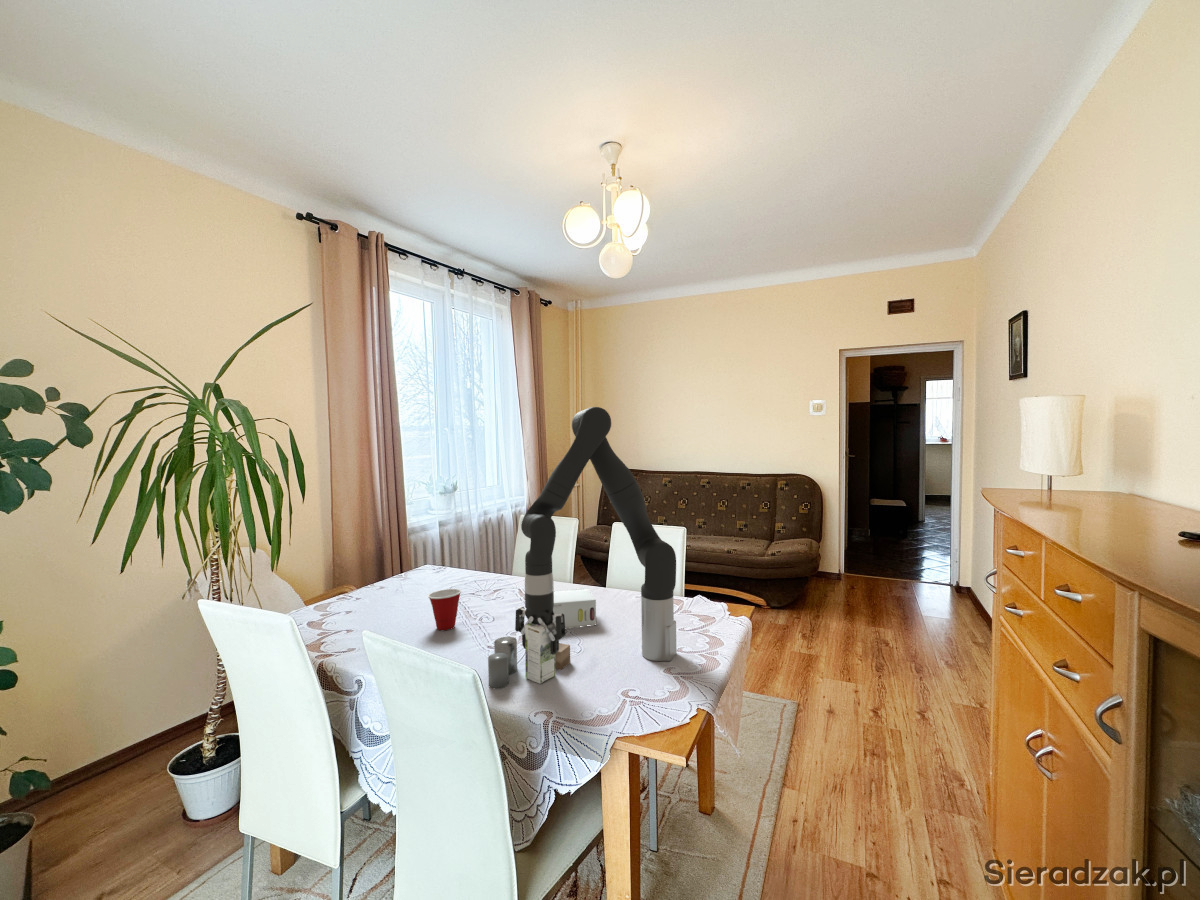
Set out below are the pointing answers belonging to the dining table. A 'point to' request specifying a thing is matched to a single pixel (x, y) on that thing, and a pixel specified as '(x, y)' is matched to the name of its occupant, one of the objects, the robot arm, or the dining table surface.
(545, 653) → the syrup box
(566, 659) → the walnut block
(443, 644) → the dining table surface
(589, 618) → the supplement box
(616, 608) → the dining table surface
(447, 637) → the dining table surface
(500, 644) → the dark metal tin
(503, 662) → the charcoal plastic canister
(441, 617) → the plastic cup
